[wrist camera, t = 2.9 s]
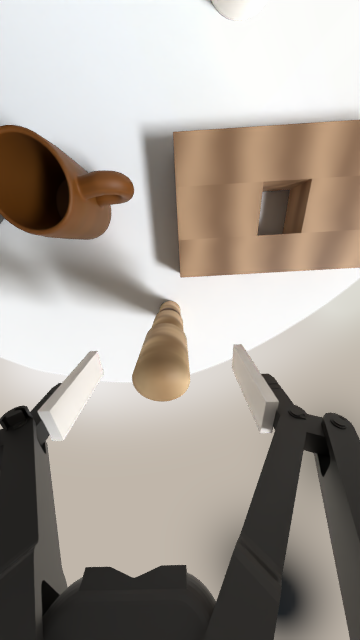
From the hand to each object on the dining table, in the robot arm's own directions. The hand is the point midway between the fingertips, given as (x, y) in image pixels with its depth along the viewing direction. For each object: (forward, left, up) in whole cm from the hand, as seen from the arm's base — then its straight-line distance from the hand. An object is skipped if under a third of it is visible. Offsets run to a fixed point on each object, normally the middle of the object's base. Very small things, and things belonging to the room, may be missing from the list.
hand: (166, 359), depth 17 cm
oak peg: (0, 0, -13) cm, 13 cm away
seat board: (+14, +13, -13) cm, 23 cm away
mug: (-8, +15, -13) cm, 22 cm away
